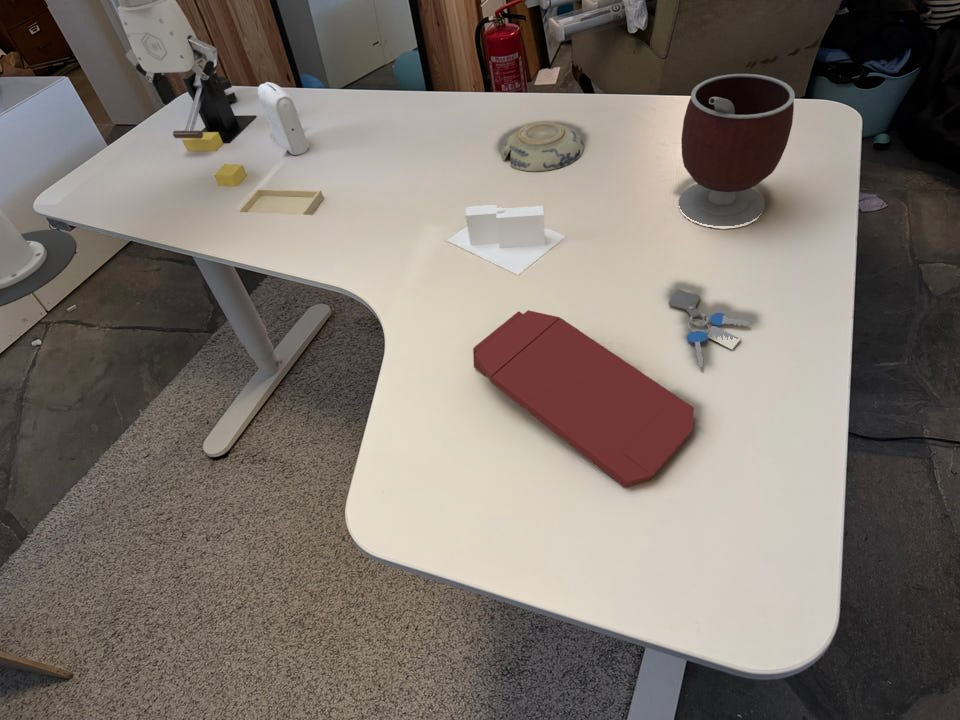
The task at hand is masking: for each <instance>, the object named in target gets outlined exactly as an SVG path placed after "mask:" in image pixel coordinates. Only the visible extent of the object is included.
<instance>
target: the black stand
mask: <svg viewBox="0 0 960 720" xmlns="http://www.w3.org/2000/svg"><path fill="white" fill-rule="evenodd" d="M214 76H215V78H216V81H217V83H218V85H219V88H220V90H221V93H222V97H221V98H220V99H219V100H218V101H217V102H216V103H215V104H211V103H210V102H209V100H208V97H207V95H206V93H204V96H203V99H202V102H201V106H200V109H199V113H198V115H199V116H200V118H201V119H200V120H201V121H202V123H203V125H204V128H202V130H200V131H201V132H218V133H219V135H220V137H221V139H222V142H223V144H231V143H232V142H233V141H234V140H235V139H236V138H237V137H238V136H239V135H240V134H241V133H243V131H244V130H245V129H247V128H248V126H249V125H250V124H251V123H253V121H255V120H256V119H257V117H258V115H254V114H253V115H251V114H250V115H241V114H240V115H235V113H234V111H233V108H232V106H231V104H230V103H229V101H228V99H227V96H226V95H227V94H226V91H225V90H224V89H223V87H222V85H221V82H220V80H219V78H220V77H219V75H218V72H216V73H215V74H214ZM195 77H196V73H195V72H194V71H193V70H192V72H190V73H189V74H188V75H186V76H185V77H183V79H182V80H183V83H184V84H185V87H186V90H187V89H188V91H189V93H190V95H191V96H190V95H189V96H190V98H191V100H192V102H193V101H194V98H195V95H196V91H197V89H196V88H195V87H194V86H193V84H194V80H195ZM200 80H202V78H200ZM188 91H187V92H188ZM189 93H188V94H189Z"/></svg>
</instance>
